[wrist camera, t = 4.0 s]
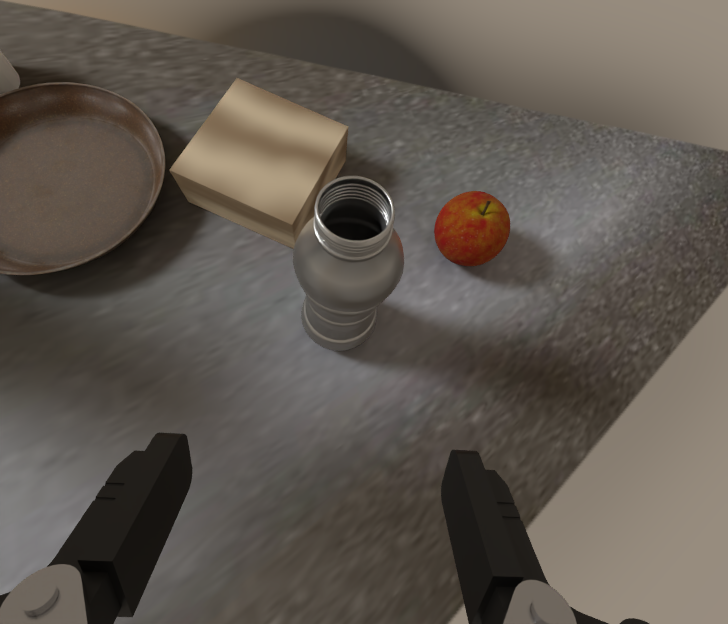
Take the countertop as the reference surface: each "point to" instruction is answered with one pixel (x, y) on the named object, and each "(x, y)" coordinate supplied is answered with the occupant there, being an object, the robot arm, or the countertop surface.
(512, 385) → the countertop surface
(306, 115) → the block
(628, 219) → the countertop surface
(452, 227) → the fruit
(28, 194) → the plant saucer
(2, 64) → the white cup
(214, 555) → the countertop surface
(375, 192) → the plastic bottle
